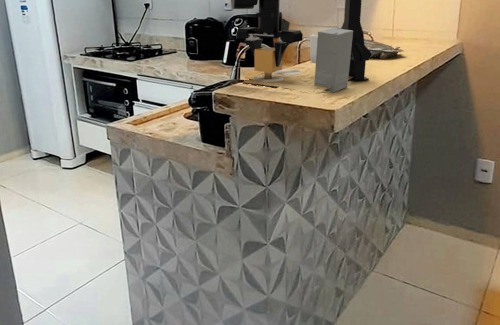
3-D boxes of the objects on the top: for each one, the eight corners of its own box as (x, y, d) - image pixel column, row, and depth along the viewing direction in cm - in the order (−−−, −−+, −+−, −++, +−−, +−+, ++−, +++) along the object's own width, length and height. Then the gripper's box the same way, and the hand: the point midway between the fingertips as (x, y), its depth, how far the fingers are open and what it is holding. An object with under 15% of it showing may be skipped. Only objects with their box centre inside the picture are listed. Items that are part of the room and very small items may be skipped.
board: (311, 75, 153) (311, 71, 152) (276, 88, 135) (276, 83, 135) (280, 72, 158) (280, 68, 158) (242, 83, 141) (242, 79, 140)
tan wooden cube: (282, 69, 142) (282, 48, 139) (271, 72, 137) (272, 50, 135) (264, 67, 145) (265, 47, 142) (254, 70, 140) (254, 49, 138)
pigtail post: (273, 78, 142) (273, 64, 141) (269, 79, 140) (269, 65, 139) (266, 77, 143) (266, 64, 142) (262, 79, 141) (262, 65, 140)
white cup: (330, 66, 168) (332, 36, 165) (307, 65, 170) (309, 36, 166) (331, 62, 175) (333, 34, 172) (309, 62, 177) (311, 33, 173)
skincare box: (328, 84, 140) (331, 27, 134) (350, 88, 135) (355, 29, 130) (312, 89, 133) (314, 30, 128) (335, 93, 129) (339, 31, 124)
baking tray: (413, 56, 194) (415, 42, 192) (392, 63, 177) (394, 47, 176) (344, 49, 211) (346, 36, 209) (319, 54, 194) (320, 40, 192)
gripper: (312, 8, 136) (310, 64, 142) (255, 6, 146) (255, 59, 151) (293, 10, 128) (292, 70, 133) (234, 8, 137) (235, 64, 143)
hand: (268, 65), depth 140 cm, fingers closed on tan wooden cube, 6 cm apart
